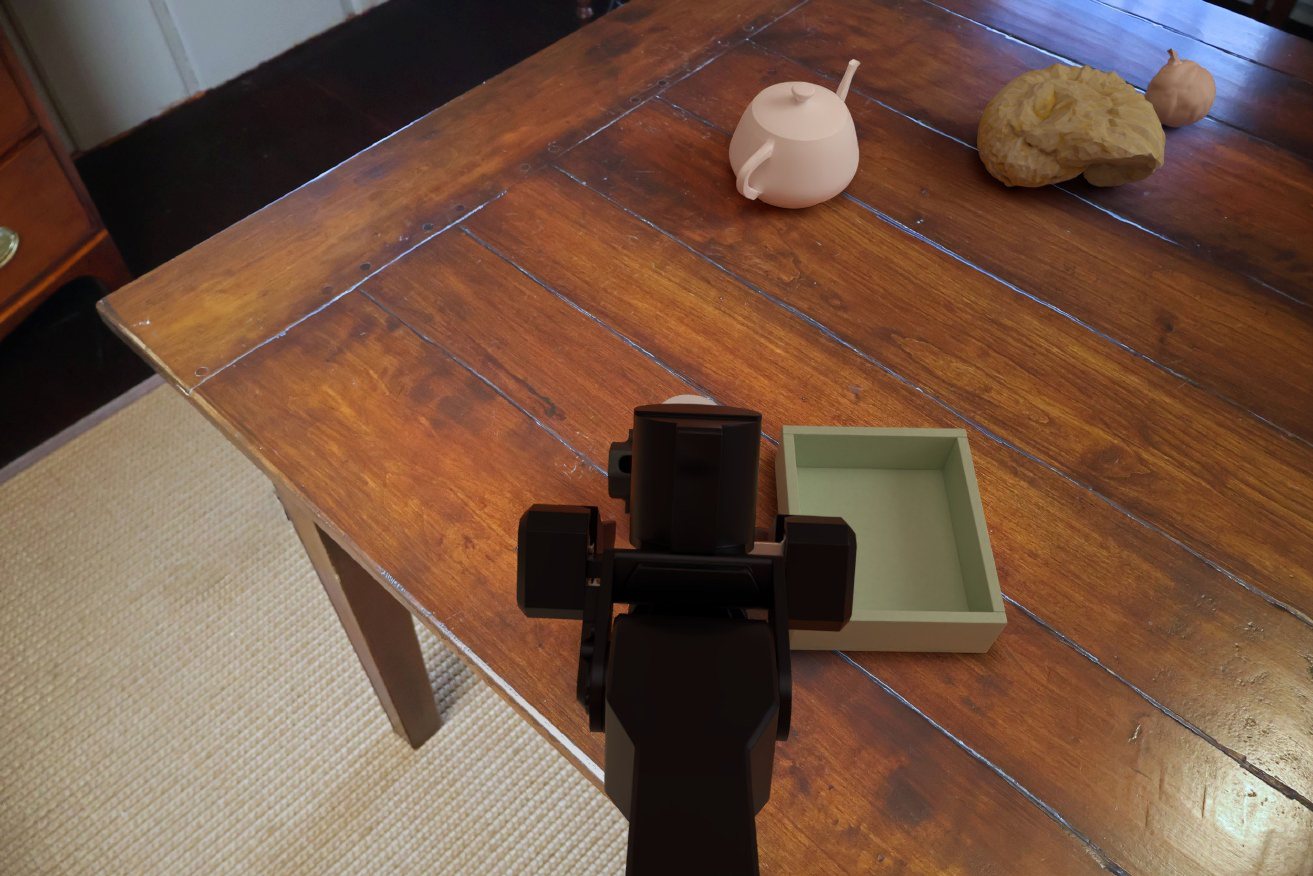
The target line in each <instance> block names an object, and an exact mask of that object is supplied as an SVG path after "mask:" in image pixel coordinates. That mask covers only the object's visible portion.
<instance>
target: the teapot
mask: <svg viewBox="0 0 1313 876" xmlns="http://www.w3.org/2000/svg"><path fill="white" fill-rule="evenodd" d="M860 65H861V62H860V60H856V59H854V58H853V59H851V60H849V62H848V65H847V68H846V70H845V72H844V74H843V77H842V79H841V80H840V83H839V85H838V87H837V90H836V92H834V91H832V90H831V89H829V88H827V87H826V86H823V85H819V84H815V83H811V82H807V81H784V82H778V83H776V84H771V85H770V86H768V87H766V88H764V89H762V90H761V91H759V93H757V94H756V96H755V97H754V98H753V99H752V100H751V101H750V103H748V105H747V107H746V108H745V110H744V112H743V113H742V116H741V117H740V120H739V121H738V123H737V126H736V128H735V130H734V132H733V135H732V137H731V140H730V143H729V147H728V157H729V163H730V167H731V169H732V171H733V173H734V176H735V178H736V181H735V182H736V183H735V184H736V185H735V186H736V190H737V192H738V193H739V194H740V195H742V196H743V197H745V198H747V199H749V200H752V201H754V200H756V199H759V200H760V201H761V202H762V203H766V204H768V205H771V206H774V207H779V208H785V209H804V208H809V207H813V206H815V205H818V204H822V203H824V202H826V201H829V200H831V199H833V198H834V197H837V196H838V195H839V194H841V193H843V191H844V190H845V189H846V188H847V187H848V186H849V185H850V183H851V182H852V180H853V179H854V177H855V176H856V173H857V171H858V168H859V163H860V150H859V148H860V147H859V141H858V136H857V132H856V127H855V123H854V120H853V117H852V114H851V112H850V110H849V108H848V106H847V104H846V98H847V96H848V93H849V90H850V86H851V83H852V80H853V77H854V75H855V73H856V71H857V69H858V67H859V66H860Z"/></svg>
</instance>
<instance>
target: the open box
mask: <svg viewBox="0 0 1313 876" xmlns="http://www.w3.org/2000/svg"><path fill="white" fill-rule="evenodd" d="M780 430H781V431H780V434H779V437H778V438H779V439H778V444H777V448H776V453H775V458H774V470H775V471H774V472H775V485H776V499H777V514H789V515H812V516H830V517H842V518H843V519H844V520H845V521H846V522H847V524H848V525H849V526H850V527H851V528H852V529H853V531H854V532H855V533H856V541H857V554H856V568H855V581H854V595H853V608H852V616H851V619H850V621H849V622H848V623H847V624H846V625H845V627H844V628H843V629H842V630H841V631H840V632H832V631H810V630H789V641H790V651H792V650H793V651H794V650H796V651H846V652H847V651H848V652H849V651H851V652H852V651H853V652H901V653H903V652H905V653H906V652H908V653H909V652H910V653H965V654H966V653H967V654H969V653H970V654H987V653H988V651H989V650H990V648H991V647H992V646H993V644H994V642H995V641H996V640H997V639H998V637H999V635H1001V633H1002V632H1003V631H1004V629H1005V628H1006V627H1007V626H1008V617H1007V614H1006V609H1005V604H1004V600H1003V595H1002V590H1001V585H1000V581H999V576H998V572H997V568H996V563H995V559H994V553H993V549H992V544H991V539H990V536H989V530H988V526H987V522H986V516H985V512H984V507H983V503H982V498H981V493H980V489H979V484H978V480H977V475H976V471H975V466H974V461H973V457H972V452H971V448H970V444H969V439H968V434H967V430H966V428H952V427H951V428H947V427H945V428H944V427H943V428H942V427H899V426H898V427H897V426H896V427H894V426H893V427H891V426H890V427H889V426H843V425H842V426H840V425H839V426H838V425H837V426H835V425H834V426H833V425H790V424H789V425H787V424H786V425H785V424H783V425H782V426H781V428H780Z"/></svg>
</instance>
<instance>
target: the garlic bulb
mask: <svg viewBox="0 0 1313 876" xmlns="http://www.w3.org/2000/svg"><path fill="white" fill-rule="evenodd" d="M1166 52H1167V53H1168V56H1169V58H1168V59H1167V62H1166V63H1165V64H1164V65H1163V66H1162V67H1160V69H1159V70H1158V71H1157V73H1156V74H1155V75H1154V76H1153V77H1152V78H1151V80H1150V81H1149V82H1148V84H1147V87H1146V91H1145V93H1144V94H1143V95H1144V97H1145V99H1146V101H1148V102H1150V103H1151V104H1152V105H1153V108H1154V111H1155V112H1156V114H1157V116H1158V118H1159V120H1160V122H1161V125H1165V126H1167V127H1170V128H1181V127H1184V126H1190V125H1194V124H1195V123H1198V122H1199V121H1202V120H1203V119H1205V118H1206V117H1207V116H1208V114H1209V113H1210V111H1211V110H1212V107H1213V106H1214V104H1215V101H1216V97H1217V86H1216V81H1215V79H1214V78H1215V77H1214V76H1213V75H1212V73H1211V72H1210V71H1209V70H1208V69H1207V68H1205V67H1203V66H1202V65H1200V64H1199V63H1197V62H1196V61H1194V60H1192V59H1188V58H1187V59H1186V58H1185V59H1180V58H1179V53H1178V52H1177V51H1176V50H1174V49H1173V48H1172V47H1170V48H1169V49H1167V50H1166Z"/></svg>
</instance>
